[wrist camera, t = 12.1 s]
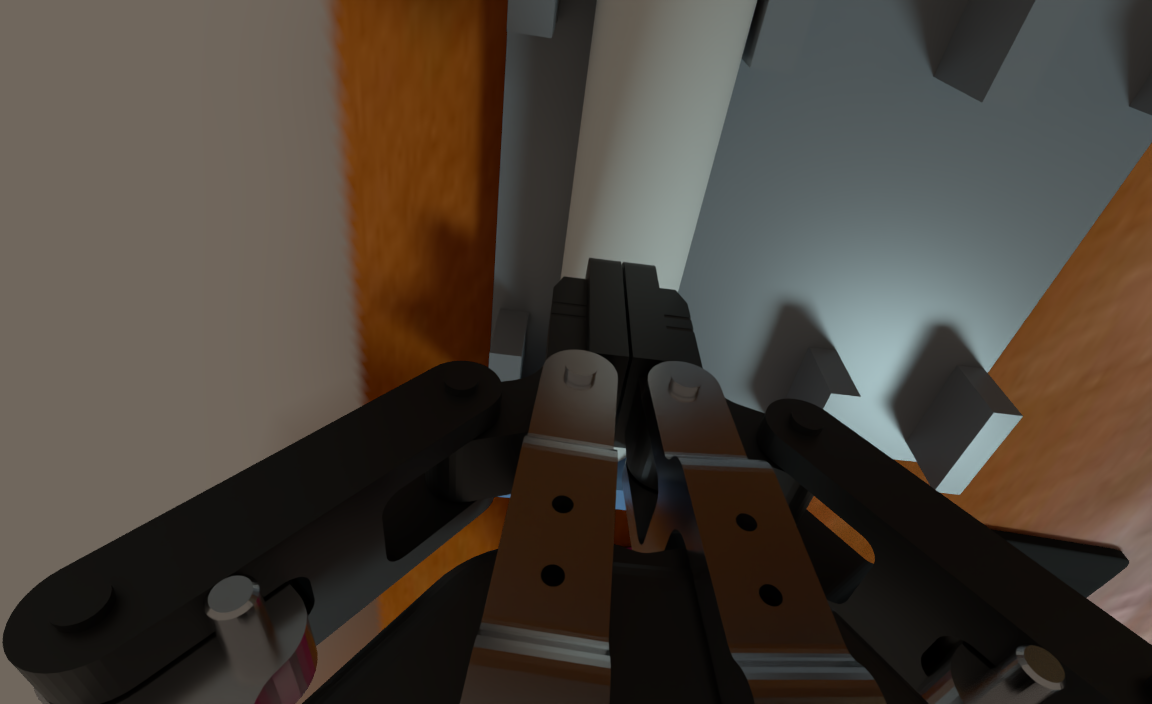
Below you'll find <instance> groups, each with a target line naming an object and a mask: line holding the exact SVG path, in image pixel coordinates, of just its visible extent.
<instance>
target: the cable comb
mask: <svg viewBox="0 0 1152 704" xmlns="http://www.w3.org/2000/svg"><path fill="white" fill-rule="evenodd" d="M596 3H597V0H508V13H507V48H506V67H505V85H504V104H503V123H502V141H501V160H500V178H499V197H498V215H497V234H496V252H495V271H494V290H493V308H492V327H491V345H490V353H489V368H490V369H491V370H493V371H494V372H495V373H496V374H497V375H498V377H499V378H500V380H501V382H502V381H510V380H517V379H521V378H525V377H528V376H530V375H532V374H534V373H535V372H537V371H538V370H539V369H540V368H541V367H542V366H543V365H544V363H545V356H546V345H547V337H548V328H549V320H550V312H551V304H552V296H553V288H554V286H555V285H556V284H557V283H558V282H559V281H560V280H561V272H562V264H563V257H564V249H565V241H566V233H567V226H568V218H569V210H570V203H571V195H572V187H573V180H574V172H575V164H576V157H577V149H578V141H579V134H580V126H581V118H582V110H583V103H584V95H585V87H586V80H587V72H588V64H589V57H590V49H591V41H592V34H593V26H594V18H595V10H596ZM1151 142H1152V0H757V4H756V7H755V11H754V15H753V18H752V22H751V26H750V29H749V33H748V37H747V40H746V44H745V48H744V51H743V55H742V59H741V62H740V66H739V70H738V73H737V77H736V81H735V84H734V88H733V92H732V95H731V99H730V103H729V106H728V110H727V114H726V118H725V121H724V125H723V129H722V132H721V136H720V140H719V143H718V147H717V151H716V154H715V158H714V162H713V165H712V169H711V173H710V176H709V180H708V184H707V187H706V191H705V195H704V198H703V202H702V206H701V209H700V213H699V217H698V220H697V224H696V228H695V231H694V235H693V239H692V242H691V246H690V250H689V253H688V257H687V261H686V264H685V268H684V272H683V276H682V279H681V283H680V287H679V290H678V293H679V294H680V296H681V297H682V298H683V299H684V300H685V301H686V302H687V304H688V308H689V312H690V316H691V319H690V320H691V321H692V325H693V332H694V333H695V337H696V342H697V346H698V350H699V354H700V358H701V363H702V367H703V369H704V370H706V371H708V372H709V373H710V374H712V375H713V376H714V377H715V378H716V380H717V381H718V382H719V384H720V386H721V389H722V391H723V394H724V397H725V398H726V399H728V400H730V401H732V402H734V403H737V404H739V405H742V406H745V407H748V408H751V409H754V410H757V411H760V412H762V413H765V412H766V409H767V407H768V406H769V405H770V404H771V403H772V402H774V401H776V400H780V399H788V398H790V399H798V400H803V401H806V402H809V403H812V404H814V405H816V406H818V407H820V408H822V409H823V410H825V411H827V412H828V413H829V414H831V415H832V416H834V417H835V418H836V419H838V420H839V421H840V422H842V423H843V424H845V425H846V426H847V427H849V428H850V429H852V430H853V431H854V432H856V433H857V434H859V435H860V436H861V437H863V438H864V439H866V440H867V441H868V442H870V443H871V444H872V445H874V446H875V447H877V448H878V449H879V450H881V451H882V452H884V453H885V454H886V455H888V456H889V457H891V458H892V459H897V460H906V461H914V462H917V463H918V465H919V466H920V468H921V470H922V472H923V473H924V475H925V477H926V479H927V480H928V482H929V484H930V486H931V487H932V488H934V489H935V490H936V491H938V492H941V493H950V494H959V495H960V494H961V493H962V491H963V490H964V489H965V488H966V486H967V485H968V484H969V483H970V481H971V480H972V479H973V478H974V476H975V475H976V474H977V473H978V471H979V470H980V469H981V468H982V466H983V465H984V464H985V463H986V461H987V460H988V459H989V458H990V456H991V455H992V454H993V453H994V452H995V450H996V449H997V448H998V447H999V445H1000V444H1001V443H1002V442H1003V440H1004V439H1005V438H1006V437H1007V435H1008V434H1009V433H1010V432H1011V430H1012V429H1013V428H1014V427H1015V425H1016V424H1017V423H1018V422H1019V420H1020V419H1021V418H1022V417H1023V416H1022V414H1021V413H1020V412H1019V411H1018V410H1017V408H1016V407H1015V406H1014V405H1013V403H1012V402H1011V401H1010V400H1009V399H1008V397H1007V396H1006V395H1005V394H1004V393H1003V391H1002V390H1001V389H1000V388H999V386H998V385H997V384H996V383H995V382H994V380H993V379H992V378H991V377H990V376H989V374H988V371H989V370H990V369H991V367H992V366H993V364H994V363H995V362H996V360H997V359H998V357H999V356H1000V355H1001V353H1002V352H1003V350H1004V349H1005V348H1006V346H1007V345H1008V343H1009V342H1010V341H1011V339H1012V338H1013V336H1014V335H1015V334H1016V332H1017V331H1018V329H1019V328H1020V326H1021V325H1022V324H1023V322H1024V321H1025V319H1026V318H1027V317H1028V315H1029V314H1030V312H1031V311H1032V310H1033V308H1034V307H1035V305H1036V304H1037V303H1038V301H1039V300H1040V298H1041V297H1042V296H1043V294H1044V293H1045V291H1046V290H1047V289H1048V287H1049V286H1050V284H1051V283H1052V282H1053V280H1054V279H1055V277H1056V276H1057V274H1058V273H1059V272H1060V270H1061V269H1062V267H1063V266H1064V265H1065V263H1066V262H1067V260H1068V259H1069V258H1070V256H1071V255H1072V253H1073V252H1074V251H1075V249H1076V248H1077V246H1078V245H1079V244H1080V242H1081V241H1082V239H1083V238H1084V237H1085V235H1086V234H1087V232H1088V231H1089V230H1090V228H1091V227H1092V225H1093V224H1094V222H1095V221H1096V220H1097V218H1098V217H1099V215H1100V214H1101V213H1102V211H1103V210H1104V208H1105V207H1106V206H1107V204H1108V203H1109V201H1110V200H1111V199H1112V197H1113V196H1114V194H1115V193H1116V192H1117V190H1118V189H1119V187H1120V186H1121V185H1122V183H1123V182H1124V180H1125V179H1126V178H1127V176H1128V175H1129V173H1130V172H1131V170H1132V169H1133V168H1134V166H1135V165H1136V163H1137V162H1138V161H1139V159H1140V158H1141V156H1142V155H1143V154H1144V152H1145V151H1146V149H1147V148H1148V147H1149V145H1150V144H1151ZM625 461H626V458H625V459H623V460H621V461H619V462H618V468H617V487H616V507H615V509H620V510H626V506H625V500H624V493H623V486H622V473H623V469H624V465H625ZM510 496H511V494H509V495H503V496H498V497H506V498H510Z"/></svg>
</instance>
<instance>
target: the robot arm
mask: <svg viewBox="0 0 1152 704" xmlns="http://www.w3.org/2000/svg"><path fill="white" fill-rule="evenodd" d="M690 319H691V316H690V312H689V308H688V304H687V302H686V301H685V300H684V299H683V298H682V297H681V296H680V294H679V293H678V292H677V291H676V290H673V289H665V288H659V282H658V277H657V271H656V267H655V266H654V265H646V264H638V263H630V262H623V263H621V261H613V260H605V259H597V258H589V260H588V265H587V271H586V277H585V279H582V278H574V277H565V276H564V277H563V278H562V279H561V280H560V281H559V282H558V283H557V284H556V285H555V286H554V288H553V296H552V304H551V312H550V320H549V328H548V337H547V345H546V356H545V363H544V365H543V366H542V367H541V368H540V369H539V370H538V371H537V372H535V373H534V374H532V375H530V376H528V377H525V378H521V379H517V380H510V381H502V382H501V380H500V378H499V377H498V375H497V374H496V373H495V372H494V371H493V370H491V369H490V368H488V367H486V366H484V365H482V364H479V363H475V362H470V361H452V362H447V363H443V364H440V365H438V366H436V367H434V368H432V369H430V370H428V371H426V372H424V373H423V374H421V375H419V376H417V377H415V378H413V379H411V380H410V381H408V382H406V383H404V384H402V385H400V386H399V387H397V388H395V389H393V390H391V391H389V392H387V393H386V394H384V395H382V396H380V397H378V398H376V399H374V400H373V401H371V402H369V403H367V404H365V405H363V406H362V407H360V408H358V409H356V410H354V411H352V412H350V413H349V414H347V415H345V416H343V417H341V418H339V419H338V420H336V421H334V422H332V423H330V424H328V425H326V426H325V427H323V428H321V429H319V430H317V431H315V432H314V433H312V434H310V435H308V436H306V437H304V438H302V439H301V440H299V441H297V442H295V443H293V444H291V445H289V446H288V447H286V448H284V449H282V450H280V451H278V452H277V453H275V454H273V455H271V456H269V457H267V458H265V459H264V460H262V461H260V462H258V463H256V464H254V465H252V466H251V467H249V468H247V469H245V470H243V471H241V472H239V473H238V474H236V475H234V476H232V477H230V478H229V479H227V480H225V481H223V482H222V483H220V484H217V485H215V486H214V487H212V488H210V489H208V490H206V491H204V492H203V493H201V494H199V495H197V496H195V497H193V498H191V499H190V500H188V501H186V502H184V503H182V504H181V505H178V506H177V507H175V508H173V509H171V510H169V511H167V512H166V513H164V514H162V515H160V516H158V517H156V518H154V519H153V520H151V521H149V522H147V523H145V524H143V525H141V526H140V527H138V528H136V529H134V530H132V531H130V532H129V533H127V534H125V535H123V536H121V537H119V538H118V539H116V540H114V541H112V542H110V543H108V544H107V545H105V546H103V547H101V548H99V549H97V550H95V551H93V552H92V553H90V554H88V555H86V556H84V557H82V558H80V559H79V560H77V561H75V562H73V563H71V564H69V565H68V566H66V567H64V568H62V569H60V570H59V571H57V572H55V573H54V574H52V575H50V576H49V577H47V578H46V579H44V580H43V581H42V582H40V583H39V584H38V585H37V586H36V587H34V588H33V589H32V590H31V591H30V592H29V593H28V594H27V595H26V596H25V597H24V598H23V599H22V600H21V601H20V602H19V604H18V605H17V606H16V608H15V609H14V611H13V612H12V614H11V616H10V618H9V620H8V622H7V624H6V627H5V630H4V633H3V648H4V652H5V654H6V656H7V658H8V660H9V661H10V662H11V663H12V664H13V665H14V666H15V667H16V668H17V669H18V670H19V671H20V672H21V674H23V676H24V677H25V678H26V679H27V680H28V681H29V682H30V683H31V684H32V685H33V686H34V691H35V693H36V695H37V697H38V699H39V700H40V701H41V702H42V703H43V704H295V703H296V702H297V701H298V700H299V699H300V698H301V697H302V695H303V694H304V693H305V691H306V690H307V689H308V687H309V685H310V683H311V681H312V679H313V677H314V673H315V671H316V666H317V648H316V646H317V645H318V644H319V643H320V642H322V641H323V640H324V639H326V638H327V637H328V636H329V635H331V634H332V633H333V632H334V631H335V630H337V629H338V628H339V627H340V626H342V625H343V624H344V623H346V621H348V620H349V619H350V618H352V617H353V616H354V615H355V614H357V613H358V612H359V611H360V610H362V609H363V608H364V607H365V606H367V605H368V604H369V603H370V602H372V601H373V600H374V599H375V598H377V597H378V596H379V595H380V594H382V593H383V592H384V591H385V590H387V589H388V588H389V587H390V586H392V585H393V584H394V583H395V582H397V581H398V580H399V579H400V578H402V577H403V576H404V575H405V574H407V573H408V572H409V571H410V570H412V569H413V568H414V567H415V566H417V565H418V564H419V563H420V562H422V561H423V560H424V559H425V558H427V557H428V556H429V555H430V554H432V553H433V552H434V551H435V550H437V549H438V548H439V547H440V546H442V545H443V544H444V543H445V542H447V541H448V540H449V539H450V538H452V537H453V536H454V535H455V534H456V533H458V532H459V531H460V530H461V529H463V528H464V527H465V526H466V525H468V524H469V523H470V522H471V521H473V520H474V519H475V518H476V517H478V516H479V515H480V514H481V513H483V512H484V511H485V510H486V509H487V508H488V507H489V506H490V504H491V503H492V501H493V499H494V497H498V496H503V495H509V494H511V496H510V500H509V504H508V509H507V513H506V517H505V522H504V526H503V530H502V535H501V539H500V543H499V548H498V549H496V550H492V551H489V552H486V553H483V554H481V555H478V556H476V557H473V558H471V559H469V560H467V561H466V562H464V563H462V564H460V565H458V566H456V567H455V568H454V569H452V570H451V571H449V572H448V573H446V574H445V575H444V576H442V577H441V578H440V579H439V580H438V581H436V582H435V583H434V584H433V585H432V586H431V587H430V588H429V589H428V590H427V591H425V592H424V593H423V594H422V595H421V596H420V597H419V598H418V599H417V600H416V601H414V602H413V603H412V604H411V605H410V606H409V607H408V608H407V609H406V610H404V611H403V612H402V613H401V614H400V615H399V616H398V617H397V618H396V619H395V620H393V621H392V622H391V623H390V624H389V625H388V626H387V627H386V628H385V629H384V630H382V631H381V632H380V633H379V634H378V635H377V636H376V637H375V638H374V639H373V640H371V641H370V642H369V643H368V644H367V645H366V646H365V647H364V648H363V649H362V650H360V651H359V652H358V653H357V654H356V655H355V656H354V657H353V658H352V659H351V660H349V661H348V662H347V663H346V664H345V665H344V666H343V667H342V668H341V669H340V670H338V671H337V672H336V673H335V674H334V675H333V676H332V677H331V678H330V679H328V681H326V682H325V683H324V684H323V685H322V686H321V687H320V688H319V689H318V690H316V691H315V692H314V693H313V694H312V695H311V696H310V697H309V698H308V699H306V700H305V702H303V703H302V704H1152V645H1151V644H1149V643H1148V642H1147V641H1145V640H1144V639H1142V638H1141V637H1140V636H1138V635H1137V634H1135V633H1134V632H1133V631H1131V630H1130V629H1128V628H1127V627H1126V626H1124V625H1123V624H1121V623H1120V622H1119V621H1117V620H1116V619H1115V618H1113V617H1112V616H1110V615H1109V614H1108V613H1106V612H1105V611H1103V610H1102V609H1101V608H1099V607H1098V606H1096V605H1095V604H1094V603H1092V602H1091V601H1089V600H1088V599H1087V598H1085V597H1084V596H1083V595H1081V594H1080V593H1078V592H1077V591H1076V590H1074V589H1073V588H1071V587H1070V586H1069V585H1067V584H1066V583H1064V582H1063V581H1062V580H1060V579H1059V578H1057V577H1056V576H1055V575H1053V574H1052V573H1051V572H1049V571H1048V570H1046V569H1045V568H1044V567H1042V566H1041V565H1039V564H1038V563H1037V562H1035V561H1034V560H1032V559H1031V558H1030V557H1028V556H1027V555H1025V554H1024V553H1023V552H1021V551H1020V550H1019V549H1017V548H1016V547H1014V546H1013V545H1012V544H1010V543H1009V542H1007V541H1006V540H1005V539H1003V538H1002V537H1000V536H999V535H998V534H996V533H995V532H993V531H992V530H991V529H989V528H988V527H987V526H985V525H984V524H982V523H981V522H980V521H978V520H977V519H975V518H974V517H973V516H971V515H970V514H968V513H967V512H966V511H964V510H963V509H961V508H960V507H959V506H957V505H956V504H955V503H953V502H952V501H950V500H949V499H948V498H946V497H945V496H943V495H942V494H941V493H939V492H938V491H936V490H935V489H934V488H932V487H931V486H929V485H928V484H927V483H925V482H924V481H923V480H921V479H920V478H918V477H917V476H916V475H914V474H913V473H911V472H910V471H909V470H907V469H906V468H904V467H903V466H902V465H900V464H899V463H897V462H896V461H895V460H893V459H892V458H891V457H889V456H888V455H886V454H885V453H884V452H882V451H881V450H879V449H878V448H877V447H875V446H874V445H872V444H871V443H870V442H868V441H867V440H866V439H864V438H863V437H861V436H860V435H859V434H857V433H856V432H854V431H853V430H852V429H850V428H849V427H847V426H846V425H845V424H843V423H842V422H840V421H839V420H838V419H836V418H835V417H834V416H832V415H831V414H829V413H828V412H827V411H825V410H823V409H822V408H820V407H818V406H816V405H814V404H812V403H809V402H806V401H803V400H798V399H790V398H788V399H780V400H776V401H774V402H772V403H771V404H770V405H769V406H768V407H767V409H766V412H765V413H762V412H760V411H757V410H754V409H751V408H748V407H745V406H742V405H739V404H737V403H734V402H732V401H730V400H728V399H726V398H725V397H724V394H723V391H722V389H721V386H720V384H719V382H718V381H717V380H716V378H715V377H714V376H713V375H712V374H710V373H709V372H708V371H706V370H704V369H703V367H702V363H701V358H700V354H699V350H698V346H697V342H696V337H695V333H694V332H693V325H692V321H691V320H690ZM614 447H618V448H626V461H625V465H624V469H623V473H622V486H623V493H624V500H625V506H626V513H627V520H628V527H629V534H630V540H631V547H632V550H631V549H628V548H625V547H622V546H619V545H616V544H614V526H615V507H616V487H617V468H618V451H617V450H615V449H614ZM813 496H815V497H816V498H818V499H819V500H820V501H821V502H822V503H824V504H825V505H826V506H827V507H828V508H830V509H831V510H832V511H833V512H834V513H836V514H837V515H838V516H839V517H840V518H842V519H843V520H844V521H845V522H846V523H848V524H849V525H850V526H851V527H853V528H854V529H855V530H856V531H857V532H859V533H860V534H861V535H862V536H863V537H864V538H865V539H866V540H867V541H868V542H869V544H870V545H871V547H872V549H873V551H874V554H875V562H874V564H873V563H870V562H868V561H867V560H865V559H864V558H863V557H862V556H860V555H859V554H858V553H857V552H856V551H855V550H853V549H852V548H851V547H850V546H849V545H848V544H846V543H845V542H844V541H843V540H842V539H841V538H839V537H838V536H837V535H836V534H835V533H834V532H832V531H831V530H830V529H829V528H828V527H826V526H825V525H824V524H823V523H822V522H821V521H819V520H818V519H817V518H816V517H815V516H814V515H812V514H811V513H810V512H809V511H808V510H807V509H806V508H807V507H808V505H809V503H810V501H811V500H812V498H813Z"/></svg>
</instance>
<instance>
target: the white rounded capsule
mask: <svg viewBox="0 0 1152 704" xmlns="http://www.w3.org/2000/svg"><path fill="white" fill-rule="evenodd" d="M756 4H757V0H597V3H596V10H595V18H594V26H593V34H592V41H591V49H590V57H589V64H588V72H587V80H586V87H585V95H584V103H583V110H582V118H581V126H580V134H579V141H578V149H577V157H576V164H575V172H574V180H573V187H572V195H571V203H570V210H569V218H568V226H567V233H566V241H565V249H564V257H563V264H562V272H561V279H562V278H563V277H564V276H565V277H574V278H582V279H585V277H586V271H587V265H588V260H589V258H597V259H605V260H613V261H621V263H623V262H630V263H638V264H646V265H654V266H655V267H656V271H657V277H658V282H659V288H665V289H673V290H676V291H677V292H678V290H679V287H680V283H681V279H682V276H683V272H684V268H685V264H686V261H687V257H688V253H689V250H690V246H691V242H692V239H693V235H694V231H695V228H696V224H697V220H698V217H699V213H700V209H701V206H702V202H703V198H704V195H705V191H706V187H707V184H708V180H709V176H710V173H711V169H712V165H713V162H714V158H715V154H716V151H717V147H718V143H719V140H720V136H721V132H722V129H723V125H724V121H725V118H726V114H727V110H728V106H729V103H730V99H731V95H732V92H733V88H734V84H735V81H736V77H737V73H738V70H739V66H740V62H741V59H742V55H743V51H744V48H745V44H746V40H747V37H748V33H749V29H750V26H751V22H752V18H753V15H754V11H755V7H756ZM614 449H615V450H617V451H618V462H619V461H621V460H623V459H625V458H626V448H618V447H614Z"/></svg>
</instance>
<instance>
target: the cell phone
mask: <svg viewBox="0 0 1152 704" xmlns="http://www.w3.org/2000/svg"><path fill="white" fill-rule="evenodd" d="M991 530H992V529H991ZM992 531H993V532H995V533H996V534H998V535H999V536H1000V537H1002V538H1003V539H1005V540H1006V541H1007V542H1009V543H1010V544H1012V545H1013V546H1014V547H1016V548H1017V549H1019V550H1020V551H1021V552H1023V553H1024V554H1025V555H1027V556H1028V557H1030V558H1031V559H1032V560H1034V561H1035V562H1037V563H1038V564H1039V565H1041V566H1042V567H1044V568H1045V569H1046V570H1048V571H1049V572H1051V573H1052V574H1053V575H1055V576H1056V577H1057V578H1059V579H1060V580H1062V581H1063V582H1064V583H1066V584H1067V585H1069V586H1070V587H1071V588H1073V589H1074V590H1076V591H1077V592H1078V593H1080V594H1081V595H1083V596H1084V597H1085V598H1087V597H1088V596H1089V595H1091V594H1092V593H1093V592H1095V591H1096V590H1097V589H1099V588H1100V587H1101V586H1103V585H1104V584H1105V583H1107V582H1108V581H1109V580H1111V579H1112V578H1113V577H1115V576H1116V575H1117V574H1118V573H1120V572H1121V571H1122V570H1123V569H1125V568H1126V567H1127V566H1128V564H1129V560H1128V559H1127V558H1126V557H1125V555H1124V554H1123V553H1122V552H1121V551H1119V550H1115V549H1111V548H1105V547H1099V546H1092V545H1086V544H1080V543H1073V542H1067V541H1061V540H1055V539H1048V538H1042V537H1036V536H1029V535H1023V534H1017V533H1010V532H1004V531H998V530H992Z"/></svg>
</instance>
